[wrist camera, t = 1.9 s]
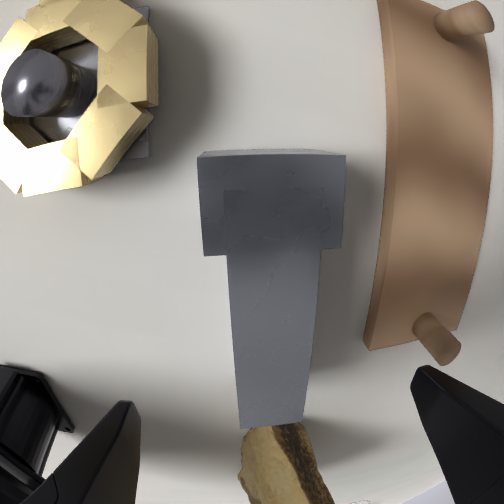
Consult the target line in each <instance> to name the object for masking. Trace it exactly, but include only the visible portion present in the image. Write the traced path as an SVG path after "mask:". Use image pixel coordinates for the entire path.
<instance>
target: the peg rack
mask: <svg viewBox="0 0 504 504" xmlns="http://www.w3.org/2000/svg"><path fill="white" fill-rule="evenodd" d="M377 4H378V11H379V18H380V25H381V34H382V43H383V53H384V66H385V82H386V110H387V144H386V173H385V190H384V204H383V215H382V225H381V234H380V243H379V251H378V258H377V265H376V272H375V279H374V285H373V291H372V297H371V302H370V307H369V313H368V318H367V323H366V328H365V332H364V337H363V342H364V343H365V345H366V347H367V348H368V350H369V351H371V350H376V349H381V348H386V347H390V346H395V345H399V344H404V343H408V342H412V341H416V340H419V341H420V342H421V343H422V344H423V345H424V347H425V348H426V349H427V350H428V351H429V353H430V354H431V355H432V356H433V358H434V359H435V360H436V361H437V363H438V364H439V365H440V366H444V365H447V364H449V363H450V362H452V361H453V360H454V359H455V358H456V356H457V355H458V353H459V352H460V349H461V343H460V342H459V341H458V340H457V339H456V338H455V337H454V336H453V335H452V334H451V333H450V331H453V330H457V327H458V324H459V321H460V319H461V316H462V313H463V310H464V307H465V303H466V300H467V297H468V294H469V290H470V287H471V283H472V279H473V276H474V272H475V268H476V264H477V260H478V255H479V251H480V246H481V241H482V236H483V231H484V225H485V219H486V213H487V206H488V198H489V190H490V180H491V167H492V149H493V109H492V91H491V79H490V70H489V62H488V54H487V48H486V42H485V37H484V33H489V32H492V31H493V30H494V21H493V18H492V16H491V14H490V13H489V11H488V10H487V8H486V7H485V6H484V5H483V4H482V3H480V2H479V1H471V2H468V3H466V4H463V5H460V6H457V7H454V8H452V9H449V10H446V11H445V10H442V9H440V8H438V7H436V6H433V5H431V4H429V3H426V2H424V1H421V0H377Z"/></svg>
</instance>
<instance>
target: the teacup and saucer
mask: <svg viewBox="0 0 504 504" xmlns="http://www.w3.org/2000/svg"><path fill="white" fill-rule="evenodd" d="M359 503H362V504H369V503H370V502H369V501H359V502H355V503H351V504H359Z"/></svg>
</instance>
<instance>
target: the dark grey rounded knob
mask: <svg viewBox="0 0 504 504" xmlns="http://www.w3.org/2000/svg"><path fill="white" fill-rule="evenodd" d="M134 10H136V11H137V12H139V13H140V14H142V15H143V16H144V17H145V19H146V20H147V22H148V23H149V7H148V6H145V7H140V8H135V9H134ZM98 48H99V47H98V46H97V45H96V44H94V43H93V42H91V41H90V40H89V39H86V40H83V41H80V42H77V43H73V44H70V45H67V46H64V47H61V48H59V49H56V50H53V51H52V52H51V53H48V52H46V51H43V50H41V49H31V50H28V51H26V52H24V53H22V54H21V55H19V56H18V57H17V58H16V59H15V60H14V61H13V62H12V64H11V65H10V67H9V68H8V70H7V72H6V74H5V76H4V79H3V82H2V86H1V101H2V105H3V107H4V109H5V111H6V112H7V113H8V114H10V115H12V116H17V117H29V124H30V125H31V126H32V127H33V128H34V129H35V130H36V131H37V132H38V133H39V134H40V135H41V136H42V137H43V138H44V139H45V140H46V141H47V142H49V143H53V142H57V141H61V140H65V139H67V137H68V136H69V134H70V133H71V131H72V130H73V128H74V127H75V125H76V124H77V122H78V121H79V119H80V118H81V117H82V115H83V114H84V112H85V111H86V110H87V108H88V107H89V106H90V104H91V103H92V102H93V100H94V99H95V98H96V96H97V72H98ZM145 109H146V110H147V111H148V108H145ZM146 157H150V148H149V130H148V125H147V126H146V128H145V129H144V130H143V131H142V133H141V134H140V135H139V136H138V137H137V139H136V140H135V141H134V142H133V144H132V145H131V146H130V148H129V149H128V150H127V151H126V153H125V154H124V155H123V157H122V158H121V159H120V161H122V160H130V159H138V158H146Z"/></svg>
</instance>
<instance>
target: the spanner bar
mask: <svg viewBox="0 0 504 504" xmlns="http://www.w3.org/2000/svg"><path fill="white" fill-rule="evenodd" d="M345 163H346V155H341V154H335V153H330V152H324V151H317V150H311V149H252V150H226V151H208V152H204V153H202V154H201V155H200V156H198V157H197V169H198V186H199V201H200V215H201V228H202V240H203V252H204V256H218V255H227V269H228V284H229V299H230V313H231V326H232V339H233V351H234V363H235V375H236V386H237V397H238V408H239V418H240V429H243V428H255V427H265V426H274V425H282V424H289V423H296V422H302V418H303V412H304V405H305V399H306V392H307V385H308V378H309V370H310V362H311V354H312V346H313V337H314V328H315V318H316V307H317V296H318V284H319V271H320V257H321V249H333V248H341V242H342V228H343V213H344V193H345Z"/></svg>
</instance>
